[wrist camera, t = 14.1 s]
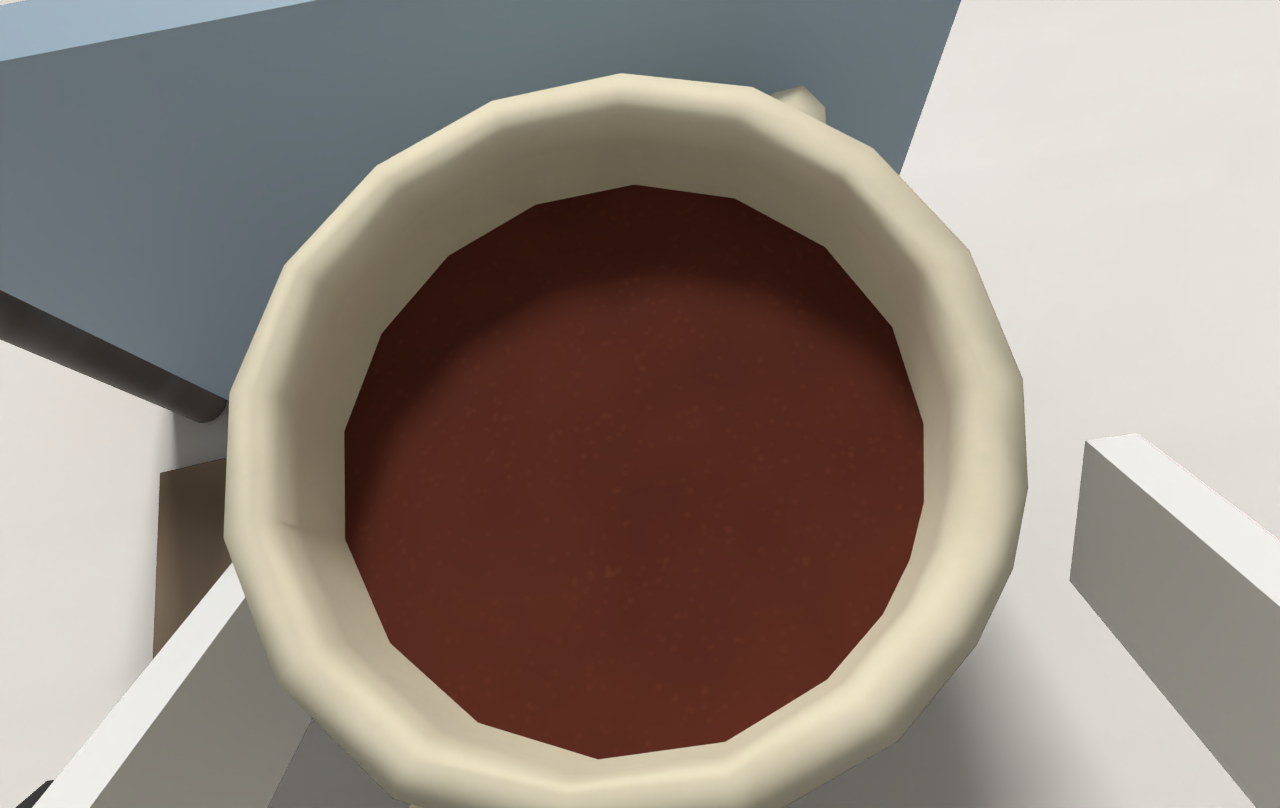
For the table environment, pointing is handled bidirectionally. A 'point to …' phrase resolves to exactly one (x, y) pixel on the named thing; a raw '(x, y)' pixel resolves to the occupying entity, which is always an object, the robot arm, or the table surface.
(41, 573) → the table surface
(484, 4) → the door
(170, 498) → the door frame
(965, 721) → the table surface
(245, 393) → the character mug
